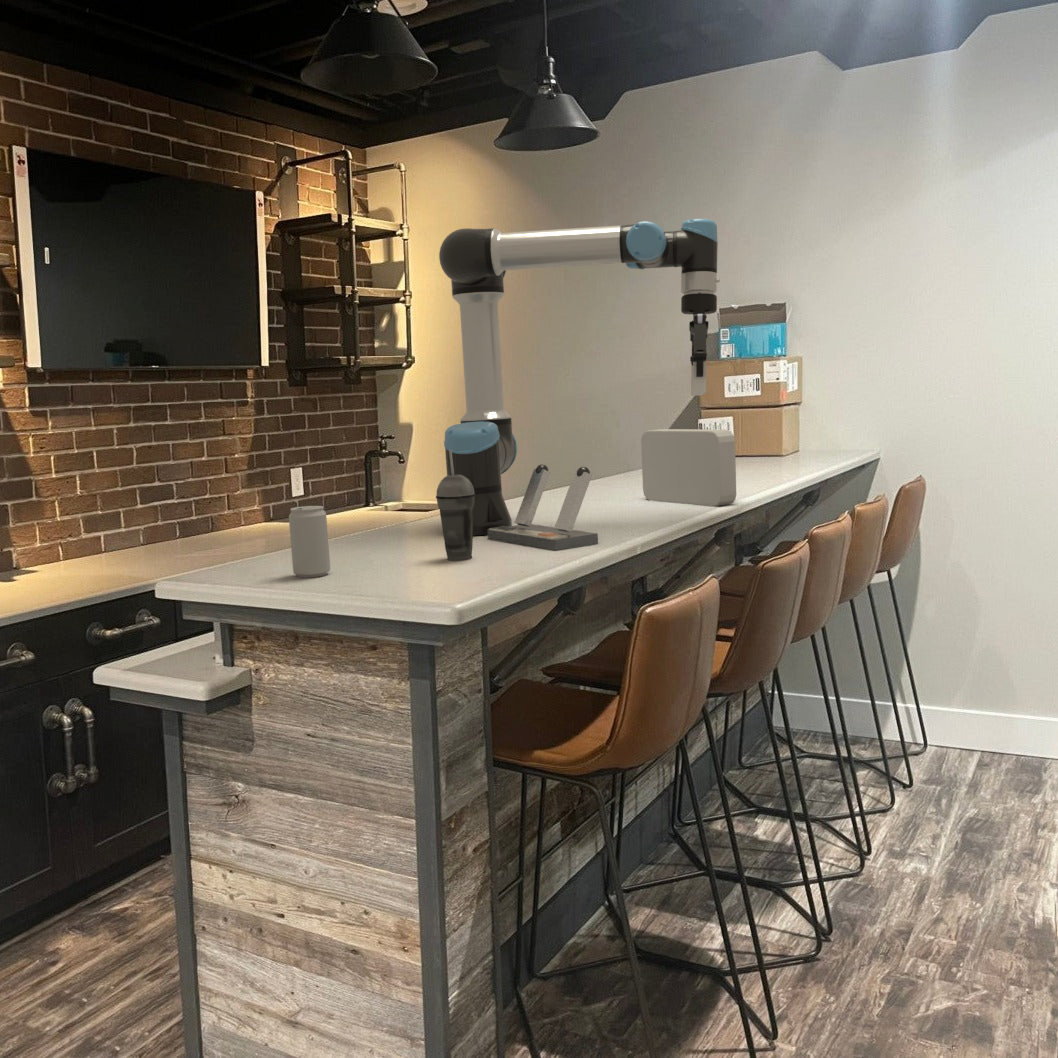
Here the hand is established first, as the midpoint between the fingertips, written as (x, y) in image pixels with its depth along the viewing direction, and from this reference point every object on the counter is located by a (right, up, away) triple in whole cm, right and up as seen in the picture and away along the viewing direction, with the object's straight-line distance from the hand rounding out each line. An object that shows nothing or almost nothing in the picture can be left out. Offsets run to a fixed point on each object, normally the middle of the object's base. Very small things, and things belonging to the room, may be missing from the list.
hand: (698, 394), depth 223 cm
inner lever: (-38, -29, -12) cm, 49 cm away
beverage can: (-74, -37, -42) cm, 93 cm away
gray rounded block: (+3, -23, +35) cm, 41 cm away
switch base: (-34, -31, -17) cm, 50 cm away
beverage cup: (-49, -35, -33) cm, 69 cm away
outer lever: (-30, -30, -23) cm, 49 cm away
